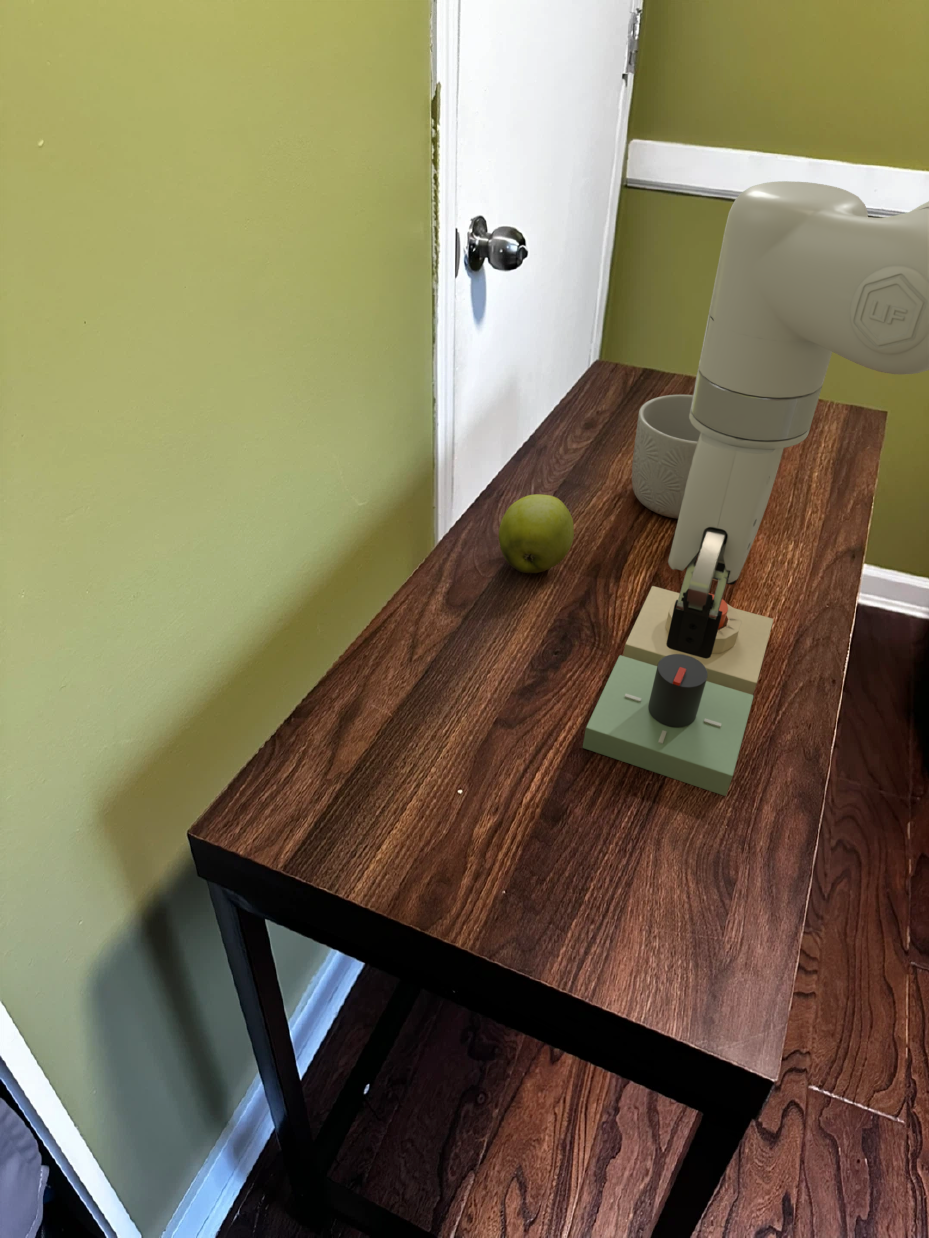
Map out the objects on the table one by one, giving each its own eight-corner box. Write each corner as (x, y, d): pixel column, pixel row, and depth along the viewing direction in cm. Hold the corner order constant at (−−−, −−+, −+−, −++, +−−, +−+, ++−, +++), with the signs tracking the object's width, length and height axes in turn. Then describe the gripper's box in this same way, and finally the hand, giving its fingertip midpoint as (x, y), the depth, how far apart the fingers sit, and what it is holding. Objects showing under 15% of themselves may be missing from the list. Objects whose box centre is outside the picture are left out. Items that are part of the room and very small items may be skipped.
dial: (655, 688, 74) (665, 645, 71) (701, 703, 73) (713, 660, 70) (642, 717, 71) (652, 674, 68) (689, 734, 70) (701, 690, 67)
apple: (575, 547, 95) (583, 484, 90) (562, 595, 88) (570, 530, 83) (506, 536, 96) (510, 473, 91) (488, 582, 89) (492, 517, 84)
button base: (768, 636, 84) (778, 603, 81) (751, 700, 77) (762, 668, 74) (648, 602, 88) (655, 571, 85) (621, 661, 80) (628, 629, 78)
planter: (746, 525, 99) (770, 440, 93) (644, 533, 98) (661, 447, 91) (704, 472, 109) (723, 391, 102) (611, 478, 107) (624, 396, 100)
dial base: (747, 715, 75) (754, 693, 74) (725, 796, 68) (733, 774, 67) (615, 674, 79) (619, 653, 77) (582, 748, 72) (586, 726, 70)
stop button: (727, 613, 81) (731, 599, 80) (719, 635, 78) (724, 621, 77) (689, 603, 82) (693, 588, 81) (680, 624, 79) (684, 610, 78)
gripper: (720, 346, 62) (679, 544, 72) (662, 447, 49) (623, 668, 60) (828, 364, 59) (770, 566, 70) (796, 474, 47) (731, 699, 58)
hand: (702, 613), depth 65 cm, fingers open, 9 cm apart
